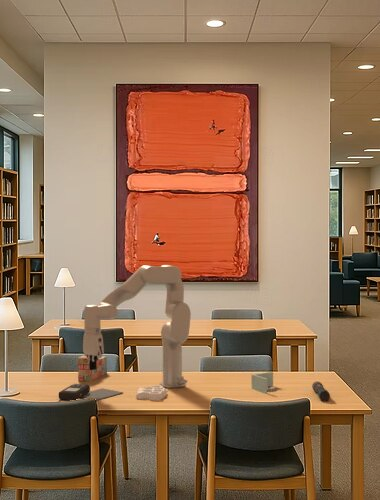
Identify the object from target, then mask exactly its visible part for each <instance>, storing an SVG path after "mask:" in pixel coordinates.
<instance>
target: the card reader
mask: <svg viewBox="0 0 380 500" xmlns="http://www.w3.org/2000/svg"><path fill="white" fill-rule="evenodd" d="M90 391H91V387H90V385H89V384H84V383H83V384H81V383H73V384H71V385H69V386H67V387H66V388H64V389H62V390H60V391H58V400H62V401H72V400H75V399H78V400H79V399H81V397H83V396H84V395H86V394H87V393H89V392H90Z"/></svg>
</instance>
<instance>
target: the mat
mask: <svg viewBox="0 0 380 500" xmlns="http://www.w3.org/2000/svg"><path fill="white" fill-rule="evenodd" d="M122 394H124V392H123V391H118V390H113V389H108V388H98V389H94V390H90V392H89V393H87V394H86V395H84V396H83V397H81V398H82V399H85V398H94V399H96V401H95V402H98V401H100V400H104V399H107V398H111V397H115V396H119V395H122ZM81 398H80V399H81Z"/></svg>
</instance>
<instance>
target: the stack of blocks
mask: <svg viewBox="0 0 380 500" xmlns="http://www.w3.org/2000/svg"><path fill="white" fill-rule="evenodd" d="M107 369H108V362H107V356H104V355H103V356H102V358H98V361H97V369H95V370H90V369H89V361H88V358H87V357H86V356H84V355H81V356H78V358H77V372H78V373H77V374H78V375H77V378H78V382H89V383H90V382H91V381H93V380H96V379H98V378H100V377H102V376H104V375H106V374H107V372H108V370H107Z"/></svg>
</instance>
